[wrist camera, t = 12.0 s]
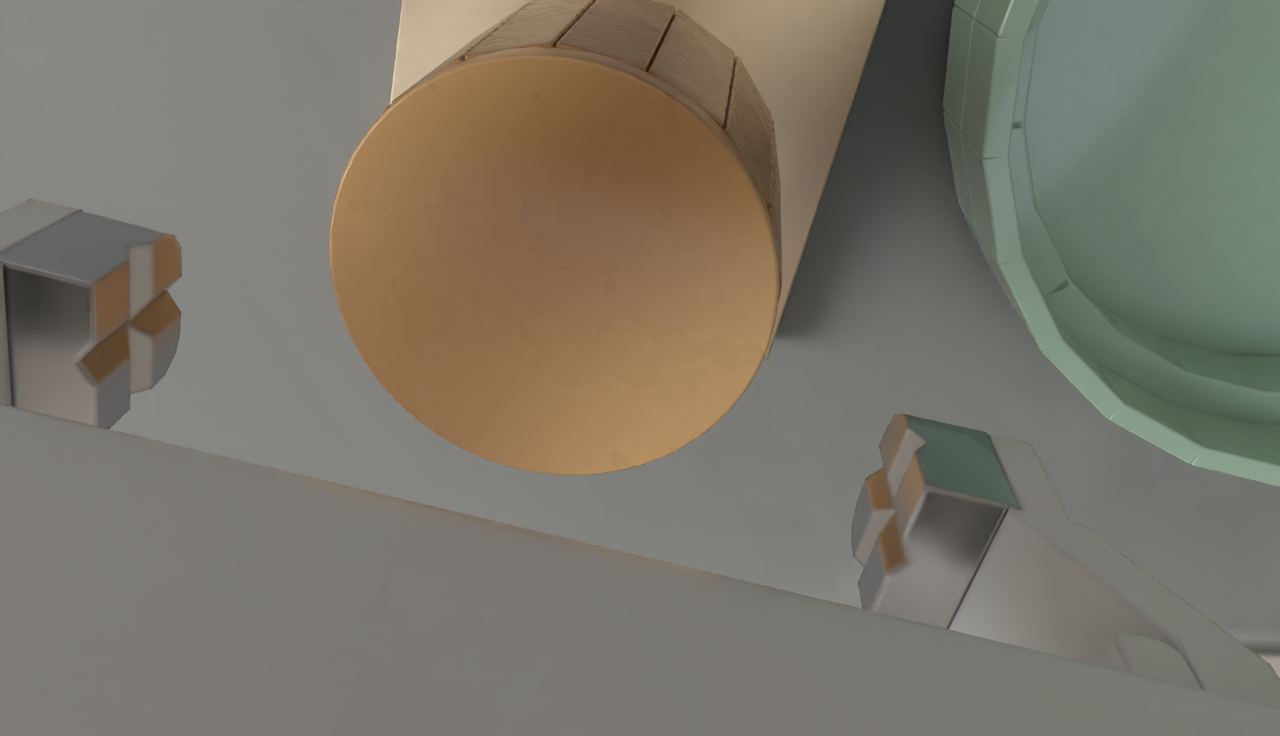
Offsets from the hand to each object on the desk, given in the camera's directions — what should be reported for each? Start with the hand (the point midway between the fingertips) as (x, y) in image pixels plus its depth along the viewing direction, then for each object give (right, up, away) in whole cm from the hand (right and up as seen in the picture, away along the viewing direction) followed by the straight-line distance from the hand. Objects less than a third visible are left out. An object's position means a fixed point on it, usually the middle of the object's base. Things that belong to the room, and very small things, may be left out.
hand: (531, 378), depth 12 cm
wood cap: (+1, +4, +7) cm, 8 cm away
